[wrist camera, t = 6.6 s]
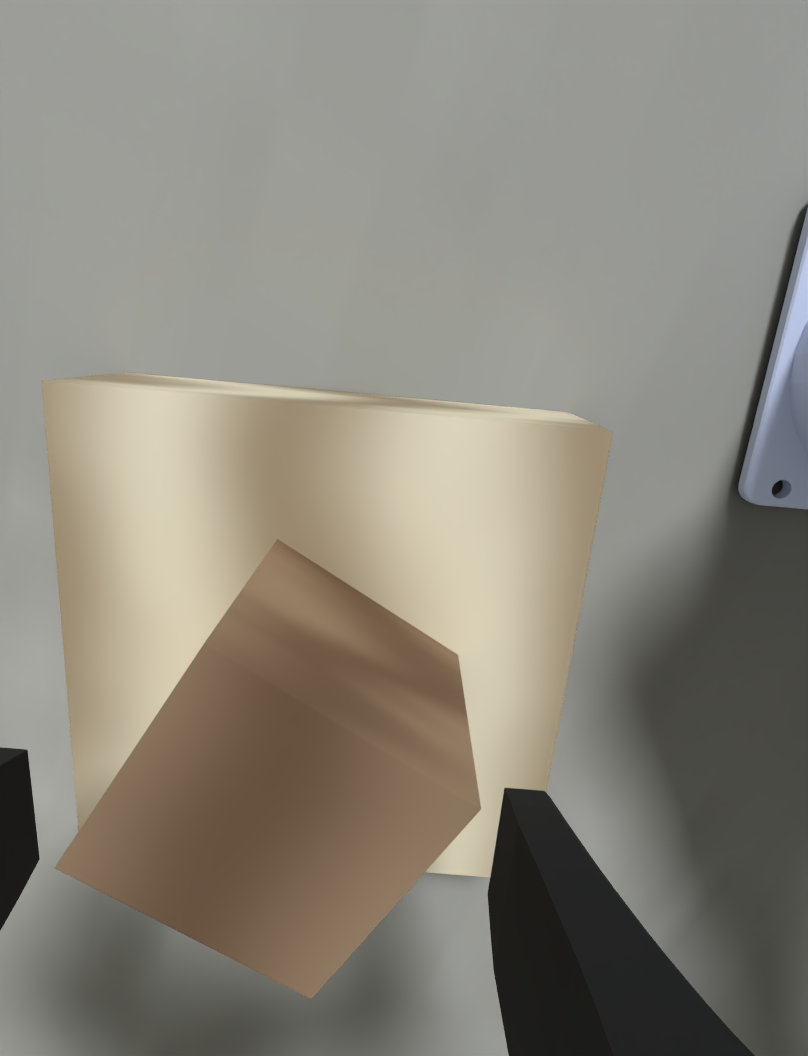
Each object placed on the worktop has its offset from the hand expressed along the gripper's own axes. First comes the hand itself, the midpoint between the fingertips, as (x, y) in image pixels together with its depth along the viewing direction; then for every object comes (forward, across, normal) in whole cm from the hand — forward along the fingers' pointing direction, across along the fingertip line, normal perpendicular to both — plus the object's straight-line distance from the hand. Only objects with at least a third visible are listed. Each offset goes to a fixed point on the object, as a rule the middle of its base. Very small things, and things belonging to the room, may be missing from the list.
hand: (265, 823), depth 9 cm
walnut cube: (+5, 0, +1) cm, 5 cm away
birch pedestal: (+9, 0, 0) cm, 9 cm away
